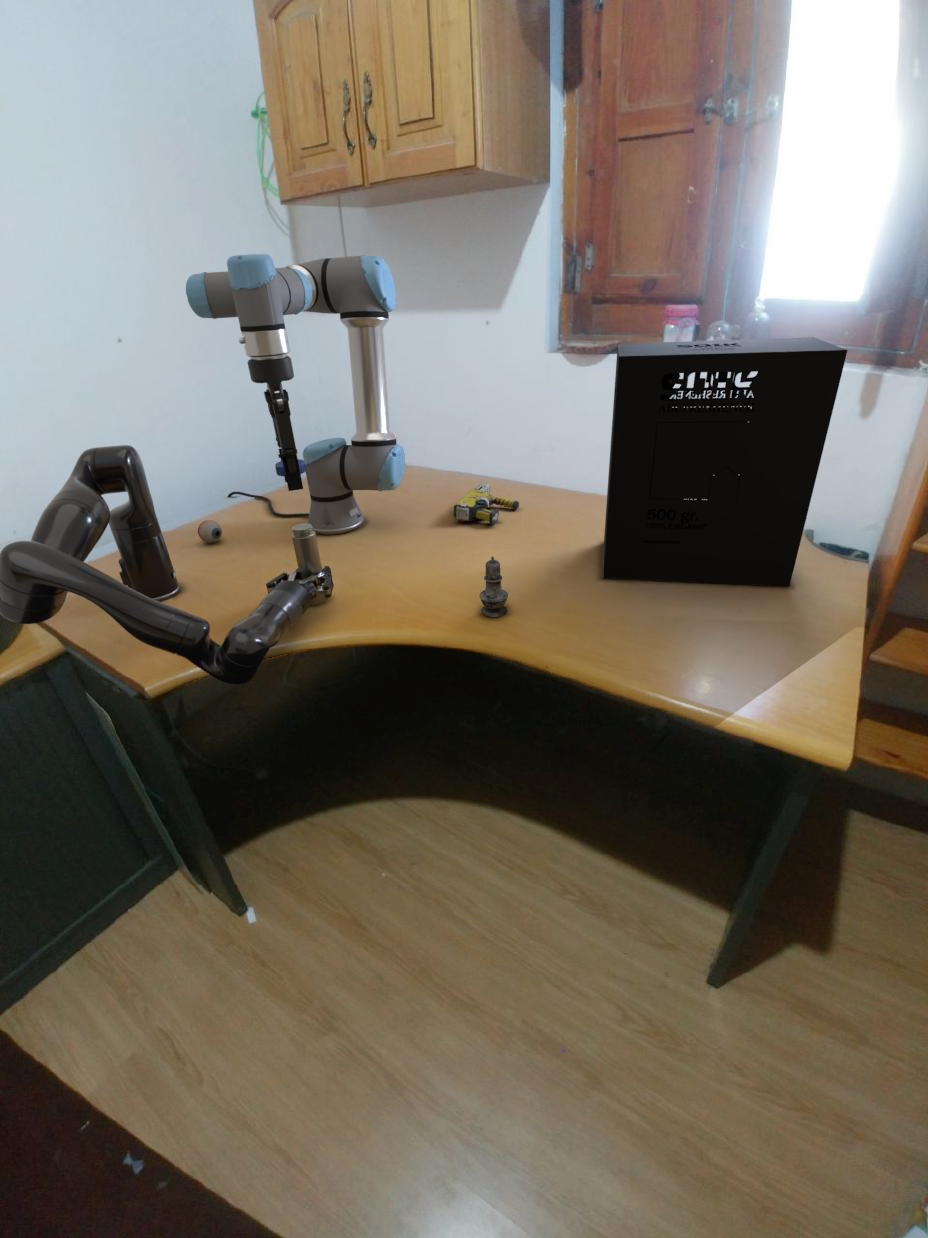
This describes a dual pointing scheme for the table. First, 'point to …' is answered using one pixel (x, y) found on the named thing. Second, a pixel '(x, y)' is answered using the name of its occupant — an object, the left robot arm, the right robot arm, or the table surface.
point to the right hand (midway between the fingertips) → (294, 484)
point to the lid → (281, 471)
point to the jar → (307, 555)
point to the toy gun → (480, 505)
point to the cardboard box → (716, 458)
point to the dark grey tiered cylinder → (493, 591)
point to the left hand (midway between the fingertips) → (316, 569)
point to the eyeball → (209, 531)
